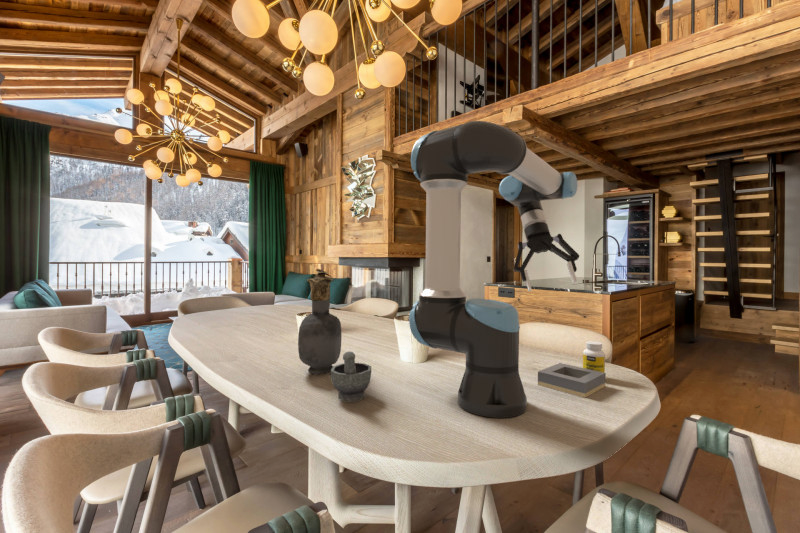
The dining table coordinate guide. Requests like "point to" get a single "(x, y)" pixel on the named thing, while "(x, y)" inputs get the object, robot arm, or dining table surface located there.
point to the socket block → (572, 379)
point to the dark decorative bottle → (320, 329)
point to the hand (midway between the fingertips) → (552, 286)
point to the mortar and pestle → (350, 378)
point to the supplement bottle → (594, 357)
